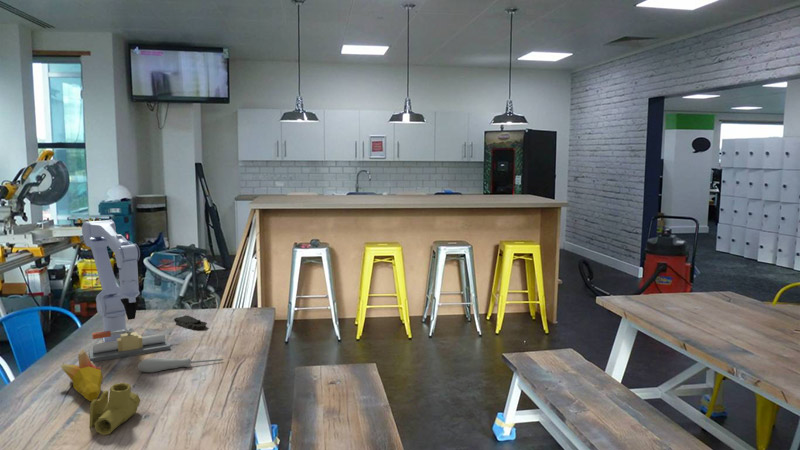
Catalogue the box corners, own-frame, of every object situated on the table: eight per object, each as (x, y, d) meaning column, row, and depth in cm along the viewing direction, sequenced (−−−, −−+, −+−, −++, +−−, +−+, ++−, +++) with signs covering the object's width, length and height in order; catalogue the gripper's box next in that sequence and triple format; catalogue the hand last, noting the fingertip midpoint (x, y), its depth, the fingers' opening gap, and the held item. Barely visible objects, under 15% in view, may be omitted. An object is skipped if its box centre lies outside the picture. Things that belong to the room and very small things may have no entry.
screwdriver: (224, 369, 176) (224, 357, 174) (137, 376, 166) (137, 364, 165) (222, 361, 180) (223, 349, 179) (138, 367, 170) (138, 356, 169)
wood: (167, 321, 221) (166, 314, 221) (185, 317, 227) (184, 310, 226) (192, 334, 206) (192, 326, 206) (211, 329, 211) (210, 322, 211)
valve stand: (88, 352, 184) (87, 334, 183) (165, 340, 197) (164, 323, 196) (90, 362, 176) (89, 343, 175) (170, 349, 188) (169, 331, 188)
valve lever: (132, 331, 187) (132, 327, 187) (133, 333, 185) (133, 329, 185) (92, 337, 181) (92, 332, 180) (93, 339, 178) (92, 334, 178)
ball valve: (142, 414, 142) (104, 408, 143) (144, 377, 141) (106, 371, 141) (115, 441, 130) (73, 435, 130) (117, 402, 128) (75, 395, 128)
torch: (90, 421, 145) (74, 379, 164) (119, 401, 148) (100, 362, 167) (72, 400, 141) (57, 359, 159) (102, 380, 144) (84, 343, 163)
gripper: (113, 277, 190) (116, 315, 192) (117, 285, 178) (120, 325, 179) (136, 275, 194) (138, 312, 195) (141, 282, 182) (143, 322, 183)
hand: (131, 318), depth 188 cm, fingers closed
